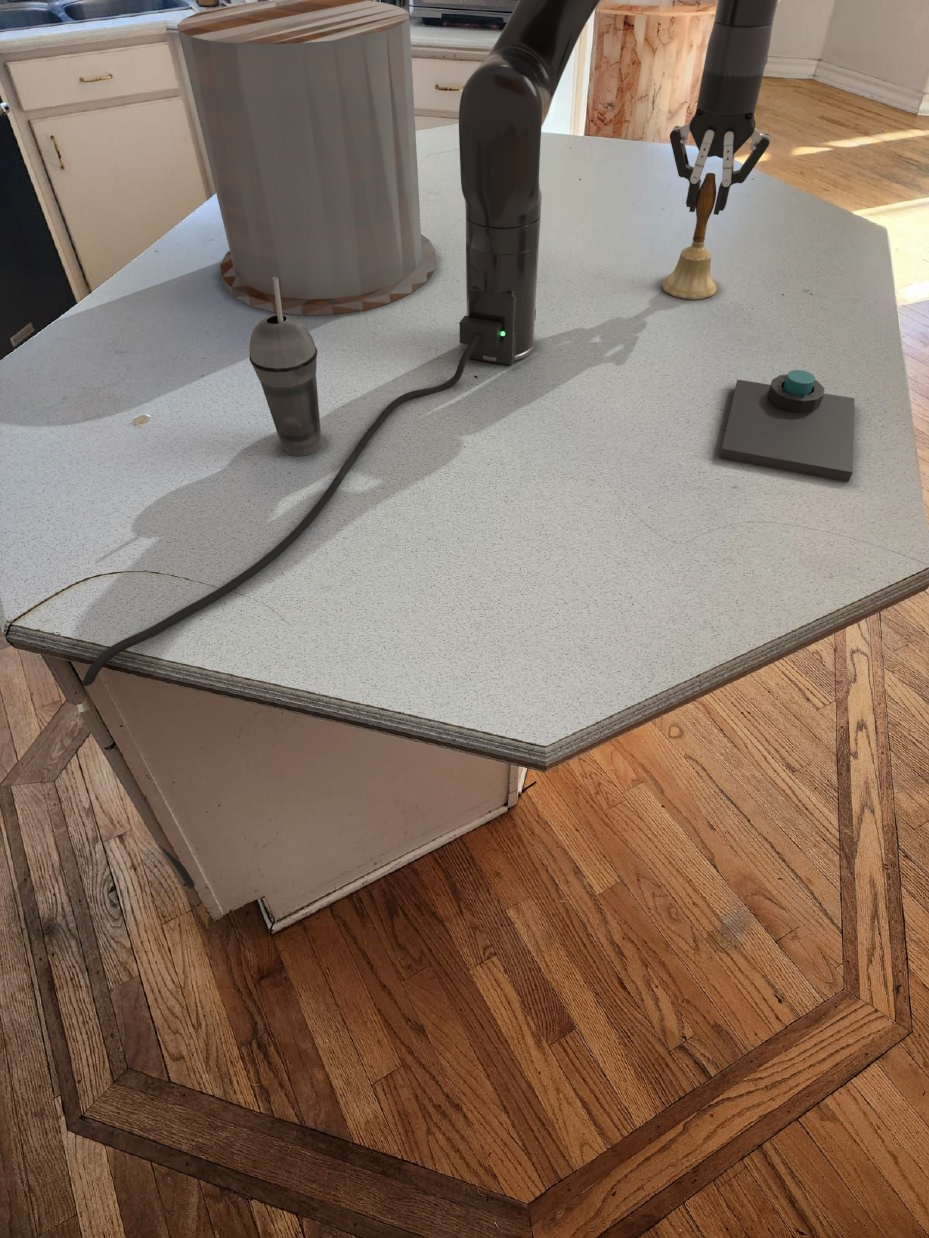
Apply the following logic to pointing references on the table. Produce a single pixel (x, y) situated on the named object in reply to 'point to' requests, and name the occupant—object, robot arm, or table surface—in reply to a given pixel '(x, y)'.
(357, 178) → the storage basket
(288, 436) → the beverage cup
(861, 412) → the table surface
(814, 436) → the scale
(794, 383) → the button
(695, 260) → the hand bell
